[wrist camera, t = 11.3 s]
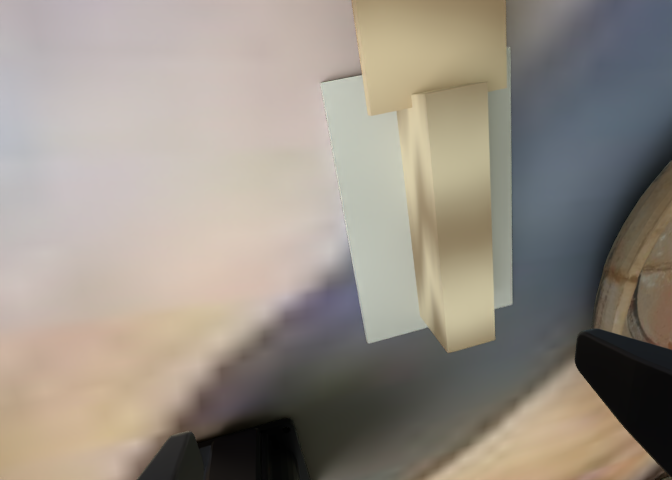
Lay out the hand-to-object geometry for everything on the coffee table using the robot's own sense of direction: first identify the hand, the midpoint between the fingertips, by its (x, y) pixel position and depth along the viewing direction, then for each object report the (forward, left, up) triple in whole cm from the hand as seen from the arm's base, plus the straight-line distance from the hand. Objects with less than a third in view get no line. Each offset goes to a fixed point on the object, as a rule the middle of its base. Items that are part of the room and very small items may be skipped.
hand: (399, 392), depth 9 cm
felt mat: (0, -6, -12) cm, 13 cm away
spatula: (+3, -6, -11) cm, 13 cm away
